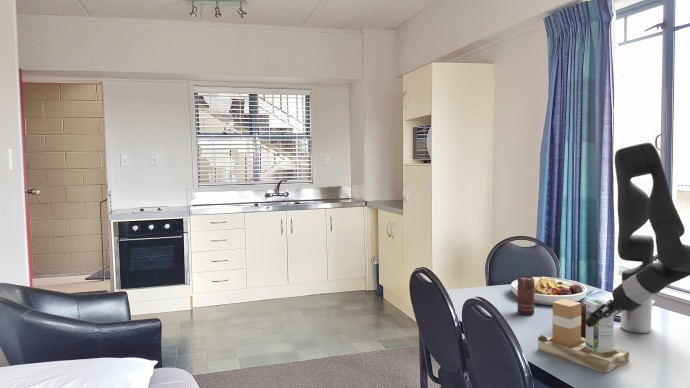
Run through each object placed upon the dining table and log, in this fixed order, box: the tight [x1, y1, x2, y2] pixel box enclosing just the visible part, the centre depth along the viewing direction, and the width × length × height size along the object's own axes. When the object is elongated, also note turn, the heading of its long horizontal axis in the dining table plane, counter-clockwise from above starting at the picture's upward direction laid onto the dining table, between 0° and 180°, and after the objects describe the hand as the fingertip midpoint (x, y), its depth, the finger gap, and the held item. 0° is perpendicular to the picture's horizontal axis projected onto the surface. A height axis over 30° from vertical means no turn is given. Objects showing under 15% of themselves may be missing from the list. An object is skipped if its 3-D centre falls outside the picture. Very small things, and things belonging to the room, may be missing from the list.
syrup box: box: [585, 298, 615, 353], centre depth 156 cm, size 6×6×14 cm
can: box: [517, 276, 535, 317], centre depth 201 cm, size 6×6×14 cm
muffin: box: [580, 302, 586, 338], centre depth 180 cm, size 12×11×10 cm
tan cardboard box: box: [551, 299, 582, 348], centre depth 165 cm, size 6×6×15 cm
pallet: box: [537, 334, 630, 374], centre depth 161 cm, size 13×22×5 cm, turn 34°
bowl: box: [510, 276, 588, 306], centre depth 223 cm, size 30×30×8 cm
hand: (594, 321), depth 157 cm, fingers closed on syrup box, 7 cm apart
